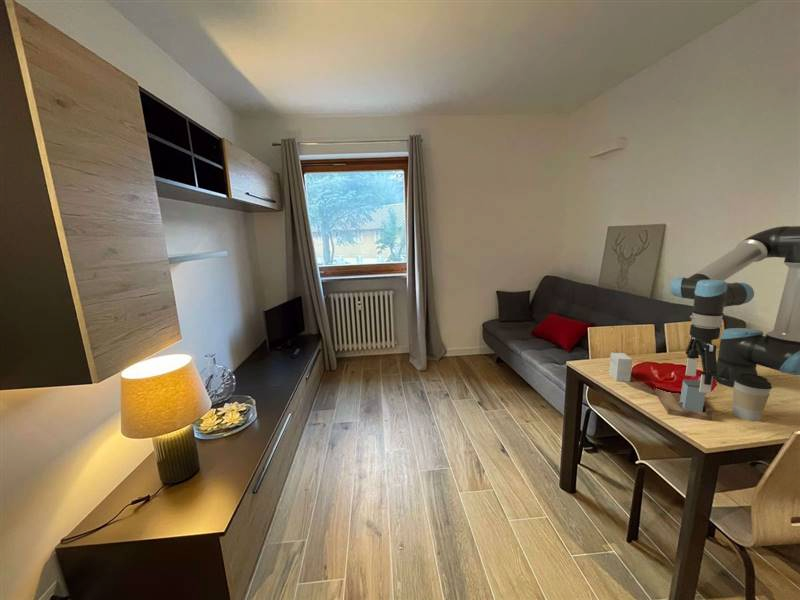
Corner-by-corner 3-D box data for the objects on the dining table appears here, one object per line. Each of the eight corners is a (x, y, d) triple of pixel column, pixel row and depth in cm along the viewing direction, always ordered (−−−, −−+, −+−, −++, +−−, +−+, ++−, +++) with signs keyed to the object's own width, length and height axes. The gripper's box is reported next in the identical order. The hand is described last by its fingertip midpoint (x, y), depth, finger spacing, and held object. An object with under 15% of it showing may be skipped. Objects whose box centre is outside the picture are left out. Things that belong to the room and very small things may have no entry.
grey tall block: (696, 405, 120) (700, 381, 118) (702, 412, 115) (706, 387, 114) (675, 402, 122) (679, 378, 120) (680, 409, 118) (684, 384, 116)
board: (691, 396, 131) (693, 387, 130) (711, 421, 114) (713, 411, 113) (654, 390, 136) (655, 382, 135) (668, 414, 119) (669, 404, 118)
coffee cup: (763, 415, 116) (771, 375, 113) (766, 426, 110) (775, 384, 107) (727, 406, 122) (734, 368, 119) (728, 417, 116) (736, 377, 113)
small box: (630, 382, 144) (632, 359, 142) (615, 381, 145) (618, 358, 143) (622, 374, 151) (624, 352, 149) (608, 373, 153) (610, 352, 150)
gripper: (679, 315, 125) (672, 368, 129) (705, 336, 103) (696, 398, 107) (705, 316, 121) (697, 370, 126) (737, 338, 99) (727, 402, 104)
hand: (697, 383), depth 117 cm, fingers open, 13 cm apart
